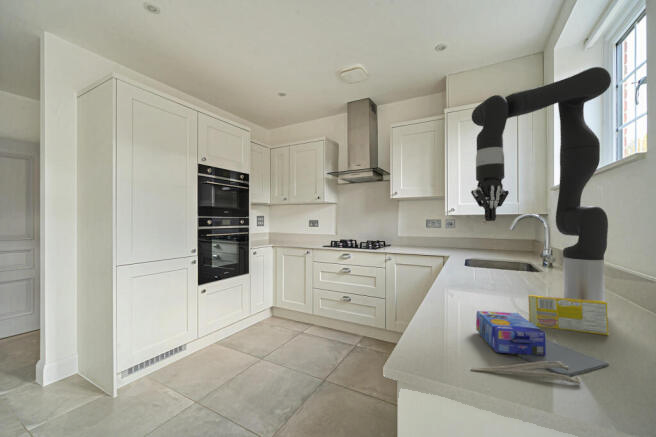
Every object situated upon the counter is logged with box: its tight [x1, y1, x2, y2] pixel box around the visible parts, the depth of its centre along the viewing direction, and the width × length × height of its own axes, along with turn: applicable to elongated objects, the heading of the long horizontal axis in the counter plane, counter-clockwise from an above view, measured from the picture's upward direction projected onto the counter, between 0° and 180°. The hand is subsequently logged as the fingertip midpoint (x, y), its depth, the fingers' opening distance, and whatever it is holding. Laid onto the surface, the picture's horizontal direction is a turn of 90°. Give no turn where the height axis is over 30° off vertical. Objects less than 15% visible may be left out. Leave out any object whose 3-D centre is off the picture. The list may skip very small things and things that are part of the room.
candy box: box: [528, 294, 610, 336], centre depth 72 cm, size 16×2×8 cm, turn 65°
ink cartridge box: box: [475, 310, 547, 356], centre depth 62 cm, size 10×6×14 cm
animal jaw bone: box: [470, 361, 582, 384], centre depth 51 cm, size 17×5×2 cm, turn 78°
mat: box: [514, 338, 609, 377], centre depth 59 cm, size 13×15×1 cm
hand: (490, 220), depth 82 cm, fingers closed
